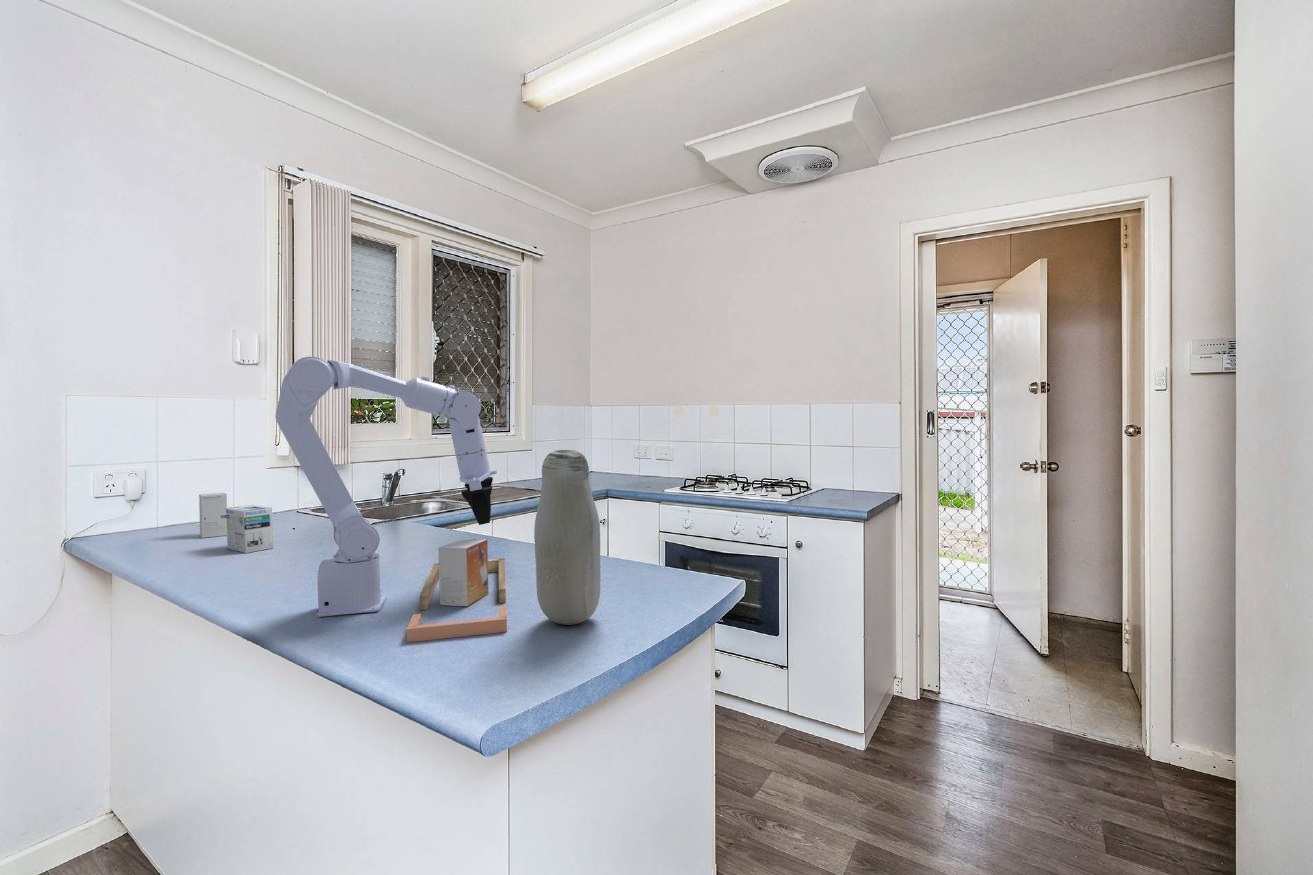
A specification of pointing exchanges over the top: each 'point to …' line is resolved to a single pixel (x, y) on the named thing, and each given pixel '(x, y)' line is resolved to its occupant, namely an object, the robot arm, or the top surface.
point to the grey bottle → (567, 540)
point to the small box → (463, 572)
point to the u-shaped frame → (433, 578)
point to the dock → (455, 627)
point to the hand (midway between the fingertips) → (485, 518)
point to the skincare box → (213, 514)
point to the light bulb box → (249, 528)
